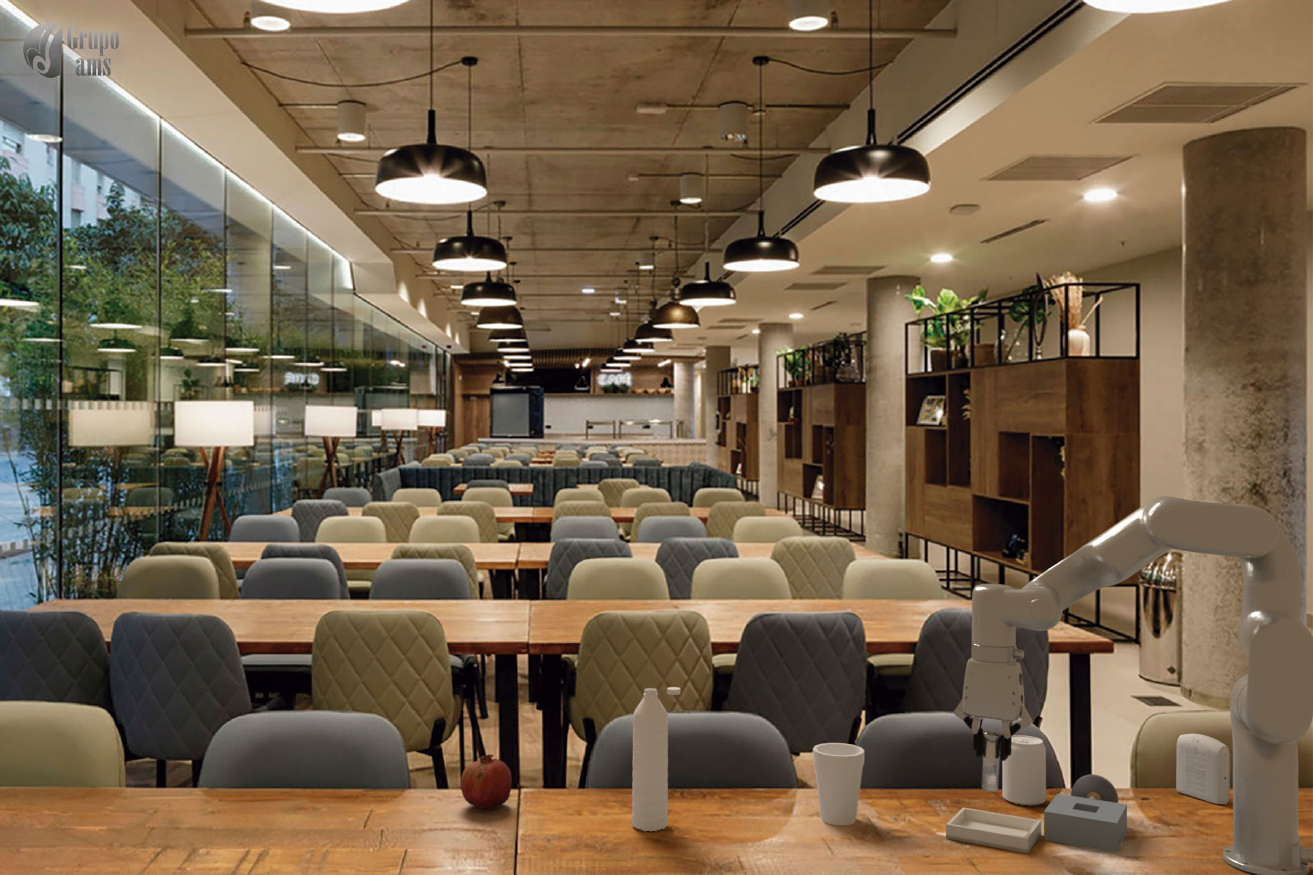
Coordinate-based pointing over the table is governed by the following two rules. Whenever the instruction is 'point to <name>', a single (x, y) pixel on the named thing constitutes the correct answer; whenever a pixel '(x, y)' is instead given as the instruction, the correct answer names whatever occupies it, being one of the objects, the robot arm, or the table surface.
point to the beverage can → (1025, 771)
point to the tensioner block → (1087, 816)
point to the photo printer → (1203, 768)
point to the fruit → (486, 782)
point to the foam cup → (838, 781)
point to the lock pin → (991, 759)
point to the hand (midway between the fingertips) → (992, 755)
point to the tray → (994, 830)
